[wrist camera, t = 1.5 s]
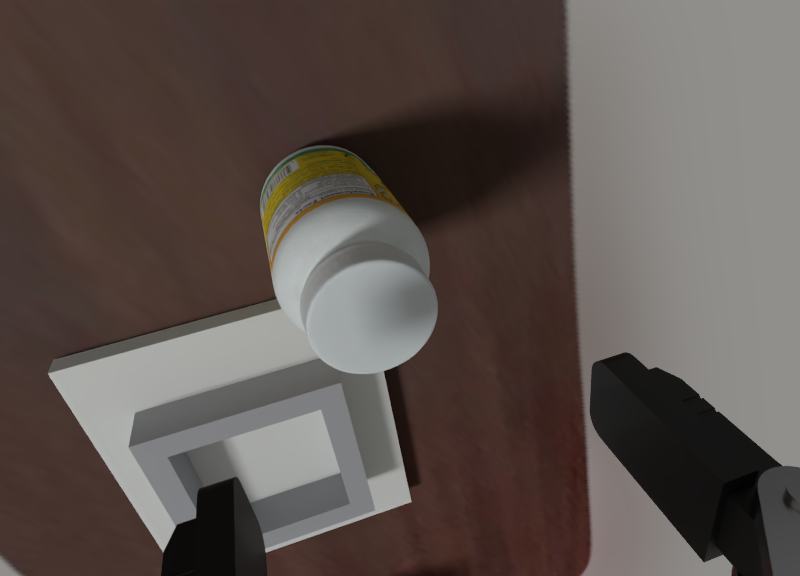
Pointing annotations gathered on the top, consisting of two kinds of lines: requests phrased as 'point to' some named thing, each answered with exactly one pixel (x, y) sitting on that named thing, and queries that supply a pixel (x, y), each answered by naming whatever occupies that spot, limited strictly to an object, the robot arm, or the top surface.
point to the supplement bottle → (347, 261)
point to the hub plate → (238, 424)
